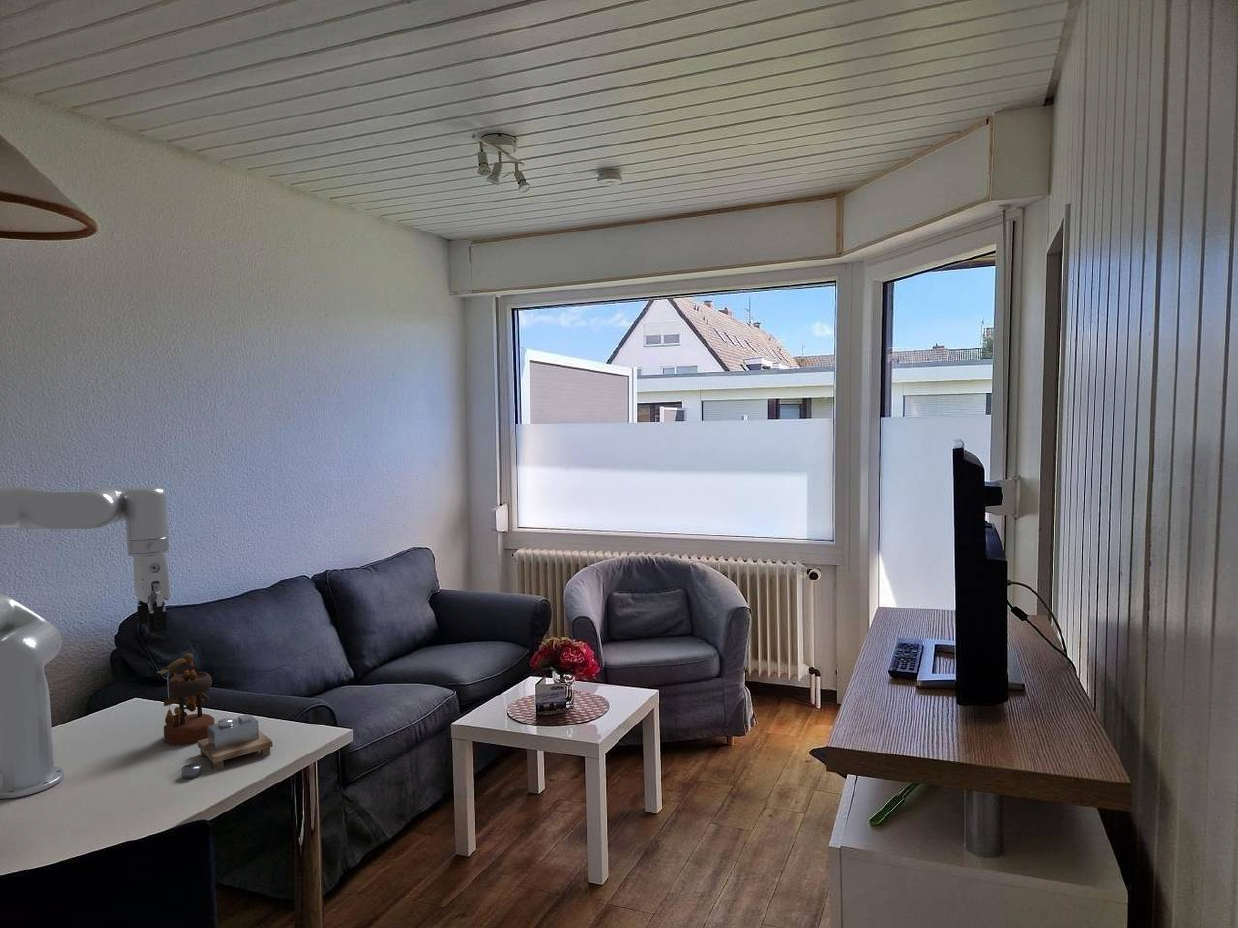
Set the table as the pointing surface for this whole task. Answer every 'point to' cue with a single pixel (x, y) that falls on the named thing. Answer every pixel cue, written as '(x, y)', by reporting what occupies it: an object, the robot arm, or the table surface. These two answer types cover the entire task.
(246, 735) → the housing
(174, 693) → the music box
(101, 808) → the table surface
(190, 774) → the dark grey round piece
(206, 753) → the stand
